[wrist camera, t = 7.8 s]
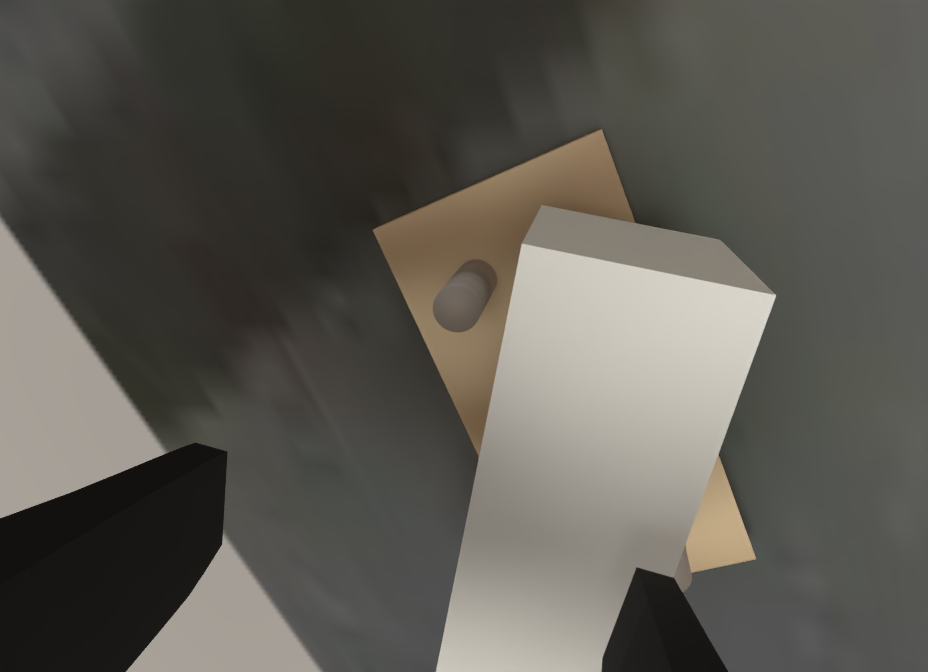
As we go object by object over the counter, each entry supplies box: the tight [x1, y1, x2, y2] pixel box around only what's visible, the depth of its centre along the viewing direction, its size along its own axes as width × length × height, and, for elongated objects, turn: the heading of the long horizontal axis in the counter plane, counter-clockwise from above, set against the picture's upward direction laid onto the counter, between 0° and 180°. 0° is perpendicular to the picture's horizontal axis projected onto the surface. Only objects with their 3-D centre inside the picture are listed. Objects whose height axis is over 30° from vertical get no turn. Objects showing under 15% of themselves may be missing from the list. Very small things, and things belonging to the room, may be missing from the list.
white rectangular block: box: [436, 205, 776, 672], centre depth 14 cm, size 12×4×4 cm, turn 171°
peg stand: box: [373, 128, 756, 592], centre depth 18 cm, size 14×7×4 cm, turn 24°
